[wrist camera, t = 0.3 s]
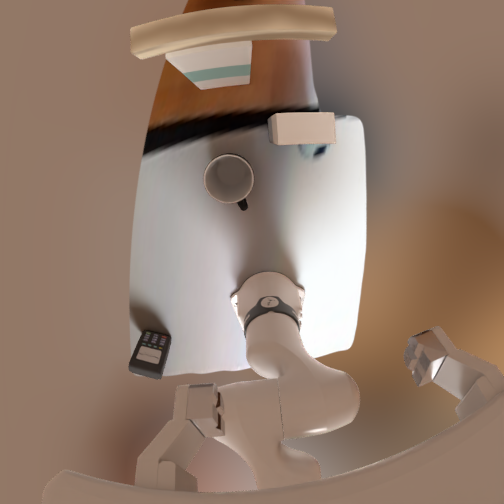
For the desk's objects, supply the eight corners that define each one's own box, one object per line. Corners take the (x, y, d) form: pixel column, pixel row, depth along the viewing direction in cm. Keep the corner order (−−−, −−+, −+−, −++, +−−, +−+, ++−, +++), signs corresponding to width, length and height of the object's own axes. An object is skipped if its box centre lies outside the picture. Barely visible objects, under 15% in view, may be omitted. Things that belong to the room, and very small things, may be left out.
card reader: (173, 334, 74) (161, 373, 60) (172, 344, 75) (161, 382, 62) (143, 327, 73) (127, 364, 59) (143, 337, 74) (128, 373, 61)
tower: (249, 84, 47) (252, 45, 24) (200, 89, 47) (165, 58, 24) (247, 62, 45) (248, 12, 22) (199, 68, 45) (164, 25, 22)
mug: (203, 161, 54) (194, 167, 45) (242, 143, 53) (242, 145, 44) (226, 210, 59) (223, 226, 50) (264, 195, 58) (268, 207, 48)
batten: (328, 41, 23) (337, 32, 20) (141, 59, 24) (130, 52, 20) (324, 18, 22) (332, 7, 19) (141, 36, 22) (130, 28, 19)
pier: (312, 140, 53) (335, 143, 38) (269, 142, 53) (278, 145, 38) (310, 117, 50) (334, 112, 36) (267, 118, 51) (275, 113, 36)
